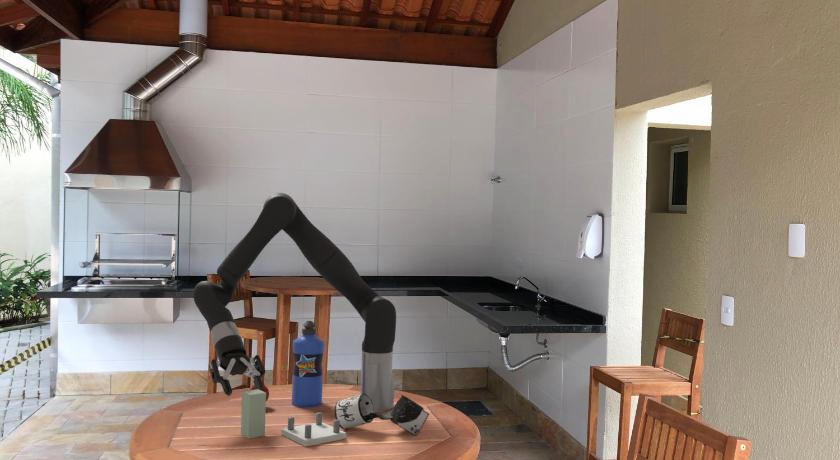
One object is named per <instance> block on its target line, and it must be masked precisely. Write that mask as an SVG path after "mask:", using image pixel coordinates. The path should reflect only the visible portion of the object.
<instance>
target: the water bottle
mask: <svg viewBox="0 0 840 460" xmlns="http://www.w3.org/2000/svg"><path fill="white" fill-rule="evenodd" d="M302 326H303V327H302V328H301V334H302V335H301V336H299V337H298V338H295V339H294V340H293V341H292V352H293V364H294V367H293V372H292V382H291V383H292V385H291V405H292V406H293V405H294V407H296V406H297V407H298V408H307V407H308V408H315V407H316V408H317V407H319V406H320V407H321V405H322V404H323V381H324V380H323V378H324V377H323V367H322V366H323V365H322V363H323V358H324V357H323V356H324V352H325V340H323V339H322V338H320V337H317V335H316V334H317V328H315V327H317V326H316V324H315V323H314V321H312V320H306V321H305V322H304V323H303V324H302Z"/></svg>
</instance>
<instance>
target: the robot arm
mask: <svg viewBox="0 0 840 460" xmlns="http://www.w3.org/2000/svg"><path fill="white" fill-rule="evenodd" d="M281 231H284V233H285V234H286V235H288V237H289V238H291V239H292V240H293V242H294V243H295V244H296V246H297V248H298V249H299V250H300V252H301V254H303V256H304V257H305V259H306V260H307V262H308V263H309V264H310V265H311V267H312V268H313V269H314V270H315V271H316V272H317V273H318V274H319V275H320V276H321V278H323V280H325V281H326V282H327V283H328V284H329V285H330V286H332V288H334V289H335V290H336V291H337V292H339V293H340V294H341V295H342V296H344V298H346V300H347V301H348V303H350V304H351V305H352V307H353V308H354V310H355V311H356V312H357V313H358V315H359V316H360V317H361V319H362V320H363V322H365V327H364V328H365V329H364V337H363V340H362V344H361V367H360V369H361V371H360V394H359V395H361V394H366V395H367V396H368V397H369V398H370V400H371V401H372V404H373V407H374V413H382V412H388V411H390V410H393V407H394V406H395V376H394V375H393V355H394V354H393V352H394V344H395V341H396V329H397V328H396V327H397V311H396V307H395V305H394V304H393V302H391V300H389V299H387V298H385V297H383V296H382V295H380V294H378V293H377V292H376V291H375V290H374V289H373V288H371V287H370V286H369V285H368V284H367V283H366V282H365V281H364V279H363V278H362V277H361V276H360V274H359V272H358V271H357V269H356V268H355V266H354V265H353V263H352V261H350V260H349V258H348V257H347V256H346V255H345V254H344V252H343V251H342V250H341V249H340V248H339V247H338V245H336V244H335V243H334V242H333V241H332V240H331V239H330V238H329V237H328V236H326V235H325V234H324V232H322V231H321V230H320V229H318V228H317V227H316V226H315V225H314V224H313V223H312V222H311V221H310V220H309V219H308V217H307V216H306V215H305V213H304V212H303V211H302V210H301V208H300V207H299V206H298V204H297V203H296V202H295V200H294V199H293V198H292V197H291V196H290V195H289V194H287V193H283V192H274V193H272V194H271V195H269V196H268V197H267V198H266V200H265V201H264V204H263V207H262V209H261V212H260V214H259V215H258V218H257V219H256V221H255V223H254V224H253V225H252V227H251V228H250V230H249V231H248V232H247V233H246V234H245V235H244V236H243V238H242V239H241V240H240V241H239V242H237V244H236V245H235V246H234V247H233V248H232V250H230V252H229V253H228V254H227V255H226V257H225V258H224V259H223V261H222V262H221V263H220V265H219V266H218V267H217V270H216V274H217V276H218V277H219V278H220V282H219V284H216V283H214V282H211V281H209V280H204V281H203V280H202V281H200V282H198V283H197V284H196V285H195V287H194V289H193V293H192V296H193V301H194V303H195V306H196V308H197V309H198V311H199V312H200V314H201V315H202V317H203V318H204V319H205V321H206V324H207V327H208V329H209V332H210V337H211V341H212V345H213V347H214V351H215V353H216V357H217V359H215V358H212V359H211V360H210V363H209V365H208V368H209V371H210V372H209V373H210V376H211V380H212V383H213V384H217V383H218V384H220V385H221V387H222V390H223V392H224V394H225V395H226V396H227V397H230V396H231V395H232V393H233V389H232V386H231V382H230V381H229V379H228V377H229V376H230V375H231V376H232V377H233V376H236V375H239V376H241V375H244V376H246V377H248V378H250V379H252V380H253V384H254V385H255V387H256V389H258V390H262V388H263V384H264V383H263V381H262V378H263V377H264V375H265V374H266V373H267V372H266V371H267V370H266V368H265V366H264V364H263V362H262V360H261V358H260V355H258V354H256V355H254V357H249V356H248V354H247V349H246V347H245V345H244V341H243V339H242V336H241V334H240V330H239V329H238V326H237V325H236V322H235V319H234V316H233V314H232V312H231V310H230V309H228V307H227V306H228V304H229V303H230V302H231V300H232V297H233V295H234V293H235V290H236V288H237V286H238V284H239V282H240V281H241V279H242V278H243V276H244V275H245V274H246V273H247V272H248V270H249V269H250V268H251V267H252V265H253V264H254V263H255V261H256V259H257V258H258V257H259V256H260V254H261V253H262V251H263V250H264V249H265V248H266V247H267V245H268V244H269V243H270V242H271V240H272V239H274V237H275V236H277V235H278V233H280V232H281ZM219 367H220V369H222V370H224V373H223V375H222V376H221V373H220V370H219Z"/></svg>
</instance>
